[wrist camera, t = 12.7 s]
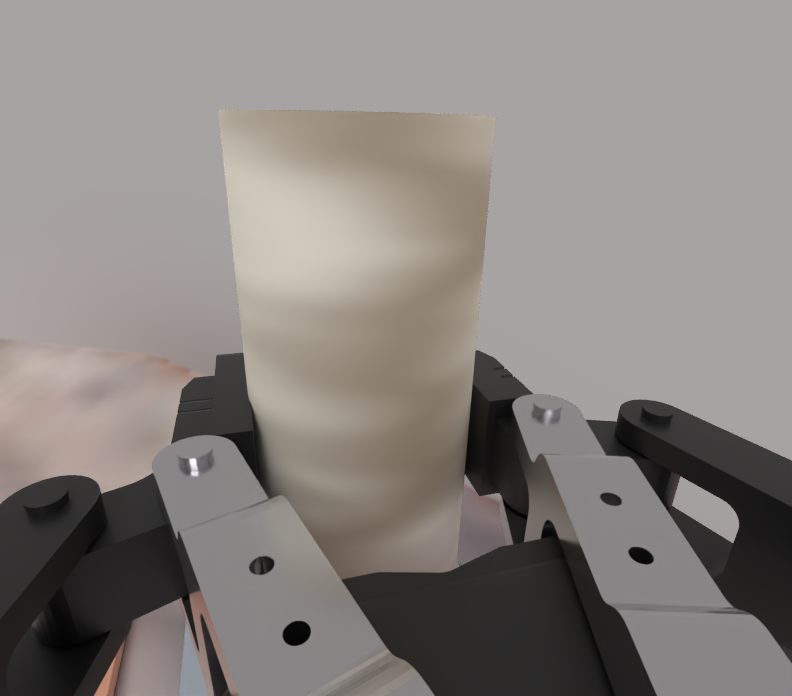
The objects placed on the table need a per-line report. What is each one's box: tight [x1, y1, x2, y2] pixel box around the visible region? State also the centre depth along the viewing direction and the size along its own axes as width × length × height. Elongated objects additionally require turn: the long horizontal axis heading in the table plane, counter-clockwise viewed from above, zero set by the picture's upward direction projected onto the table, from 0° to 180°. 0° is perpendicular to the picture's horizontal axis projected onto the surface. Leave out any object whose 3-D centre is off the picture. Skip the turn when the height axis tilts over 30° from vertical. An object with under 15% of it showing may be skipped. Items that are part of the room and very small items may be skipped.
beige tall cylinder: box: [218, 110, 496, 579], centre depth 11 cm, size 4×4×14 cm
